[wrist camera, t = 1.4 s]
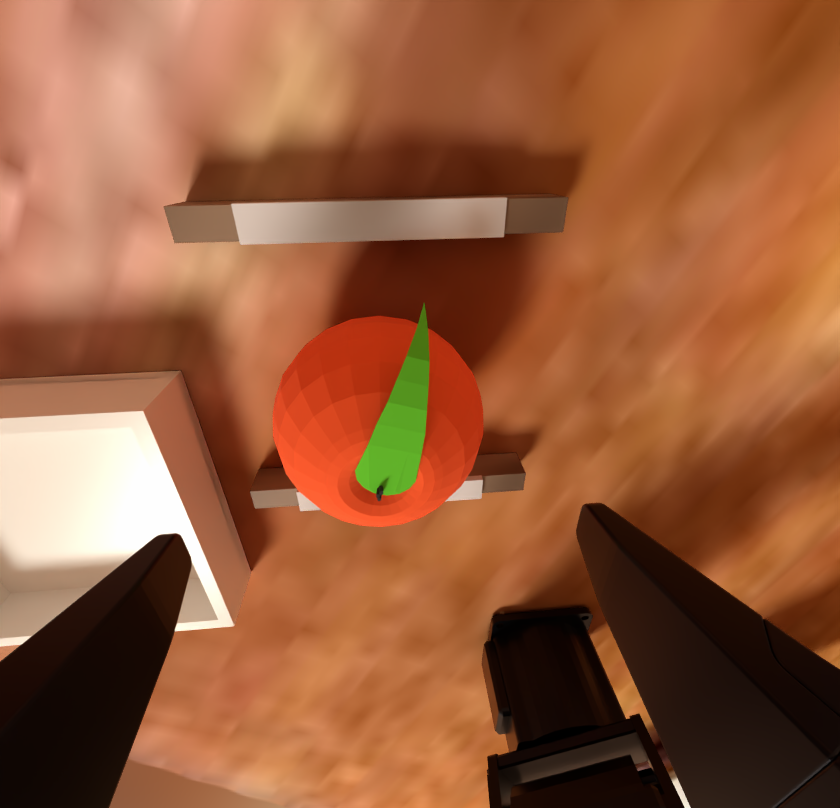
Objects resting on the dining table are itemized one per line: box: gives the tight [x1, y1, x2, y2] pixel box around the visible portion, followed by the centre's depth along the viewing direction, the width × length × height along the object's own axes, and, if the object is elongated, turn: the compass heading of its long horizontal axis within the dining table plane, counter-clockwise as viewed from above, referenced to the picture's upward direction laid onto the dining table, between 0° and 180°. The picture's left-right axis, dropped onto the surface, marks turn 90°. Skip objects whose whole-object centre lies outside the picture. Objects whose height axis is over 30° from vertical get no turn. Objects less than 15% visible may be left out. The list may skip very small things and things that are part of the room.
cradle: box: [164, 194, 568, 511], centre depth 16 cm, size 12×12×2 cm
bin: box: [0, 371, 251, 646], centre depth 17 cm, size 12×12×3 cm
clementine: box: [273, 303, 483, 527], centre depth 14 cm, size 8×7×7 cm
